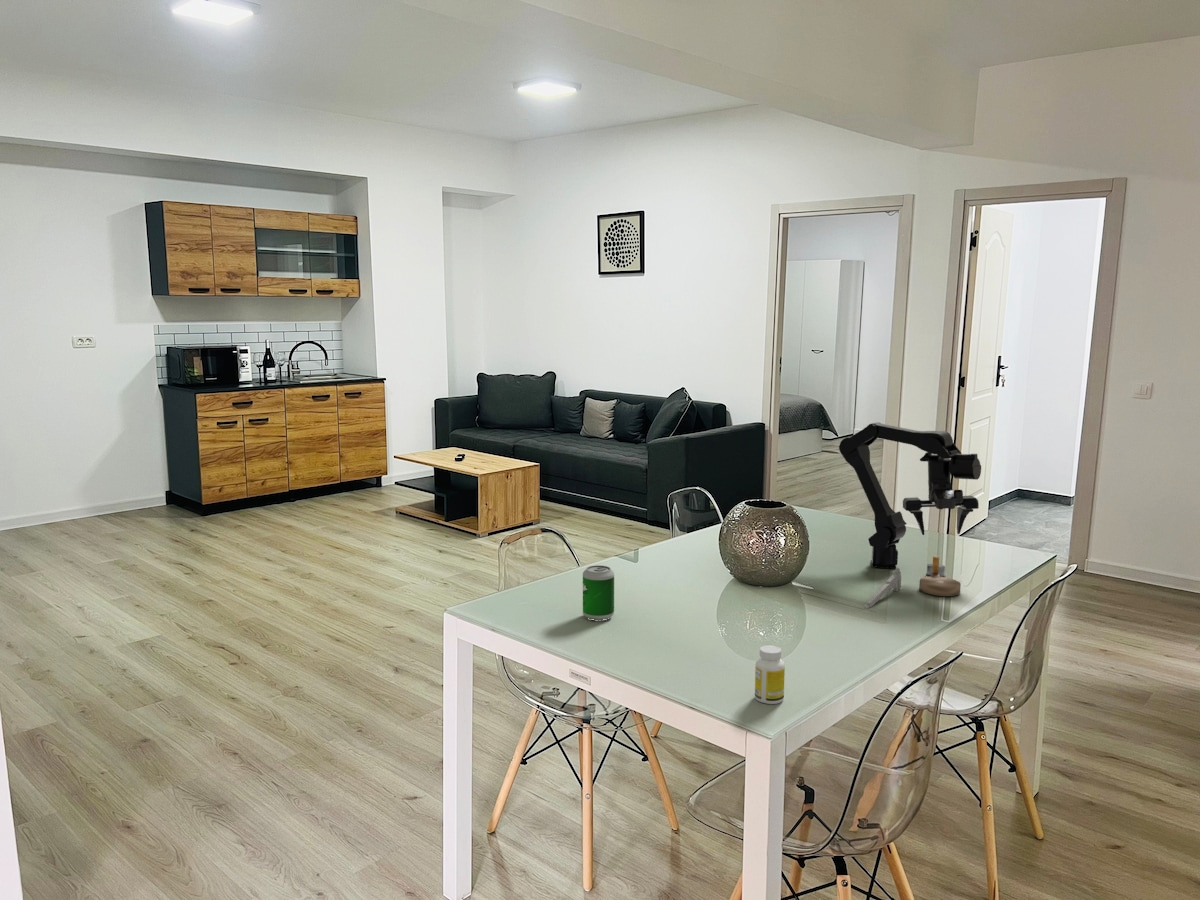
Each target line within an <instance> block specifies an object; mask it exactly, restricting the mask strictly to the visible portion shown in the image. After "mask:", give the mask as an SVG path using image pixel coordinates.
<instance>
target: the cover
mask: <svg viewBox="0 0 1200 900" xmlns="http://www.w3.org/2000/svg"><path fill="white" fill-rule="evenodd" d="M932 567H933V563H927V565H926V573H925V575H926V576H927V577H930V576H932ZM938 574H939V575H940V577H946V578H947V576H946V575H945V574H946V566H945V565H943V564H940V563H939V573H938ZM926 576H925V577H926Z"/></svg>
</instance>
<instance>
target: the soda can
mask: <svg viewBox="0 0 1200 900" xmlns="http://www.w3.org/2000/svg"><path fill="white" fill-rule="evenodd" d="M582 614H583V616H585V618H586V617H587V618H589V619H594V620H603V619H608V618H610V617H613V616H614V614H615V572H614V570H612V569H611V567H610V566H607V565H602V564H601V565H598V564H597V565H590V566H588V567H586V569H585V570H584V571H582ZM587 618H586V619H587ZM610 619H611V618H610Z"/></svg>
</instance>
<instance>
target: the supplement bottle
mask: <svg viewBox="0 0 1200 900" xmlns="http://www.w3.org/2000/svg"><path fill="white" fill-rule="evenodd" d="M781 658H782V649H781V647H779V646H775V645H762V646H761V647H759V658H758V659H756V661H755V674H754V675H755V677H754V679H755V680H754V697H755V699H756V701H758V702H760V703H762V704H768V705H777V704H780V703H782V702H783V700H784V699H785V698H784V697H785V675H786V674H785V671H786V670H785V669H786V668H785V667H786V666H785V662H784V660H782V659H781Z"/></svg>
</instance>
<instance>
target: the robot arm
mask: <svg viewBox="0 0 1200 900" xmlns="http://www.w3.org/2000/svg"><path fill="white" fill-rule="evenodd" d="M877 439H883V440H887V441H891V442H897V443H902V444H905V445H906V444H908V445H911V446H914V447H916V448H918V449H920V450H922V451H923V452H925V454H924V455H923V456H921V458H919V461H920V462H927V476H928V477H927V478H928V479H927V484H928V499H924V500H923V499H920V498H919V497H917V496H915V497H904V498H903V499H902V508H903V509H904V510H905V511H908V512H909V513H910V514H912V515H913V516H914V518H915V520H916V522H917V525H918V528H919V530H920V533H921V534H922V536H925V525H924V518H923V517H924V512H923V511H922V508H932V507H933V508H934V507H935V508H936V509H938V510H944V509H950V510H953V509H955V508H956V507H957V508H956V533H957V535H960V534H961V531H962V528H963V526H964V522H965V521H966V518H967V516H968V515H969V513H972V512H974V509H975V510H977V509H980V508H979V499H978V498H977V497H975V496H973V495H964V492H963V489H953V487H952V477H953V478H954V479H956V480H976V481H977V480H979V479H980V477H981V474H982V465H981V462H980V459H979V458H978V453H970V454H969V453H966V454H965V453H962V452H961V451H960V449H959V448H958V447H957V446H956V444H955V443H954V439H953V436H952V435H951V433H950V432H948V431H945V430H926V431H924V430H922V431H921V430H916V429H915V430H914V429H910V428H905V427H900V426H895V425H889V424H885V423H881V422H872V423H869V424H868V425H867V426H865V427H864V428H863V429H861V430H860V431H857V432H856V433H854V434H852V435H851V436H849V437H845V438H842V440H841V441H840V443H839V445H838V450H839V452H840V454H841V456H842V458H843V459H844V461H845V462H847V464H849V466H850V467H851V468H852V469H853V470H854V471H855V473H856V476H857V479H858V480H859V483H860V485H861V487H862V489H863V491H864V494H865V496H866V499H867V501H868V502H869V504H870V508H871V509H872V511H873V513H874V514H873V515H874V528H875V531H876V532H875V533H874V534H873V535H871V536H870V537H868V543H869V546H870V547H871V548H872V549H871V559H870V563H871V566H872V568H878V569H879V568H880V569H893V570H896V568H897V566H898V558H899V552H898V551H899V550H898V549H897V544H899V542H900V540H901V539H902V538H904V536H905V535H906V533H907V532H906V531H907V527H906V525H907V522H906V521H905V519H904V517H903V513H902V512H901V511H894V510H893V509H892V508H891V506H890V504H889V501H888V499H887V497H886V494H885V493H884V491H883V489H882V486H881V484H880V482H879V480H878V478H877V475H876V472H875V470H874V469H873V466H872V464H871V452H870V448H869V446H870V445H872V444H873V443H875V441H877Z"/></svg>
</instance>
